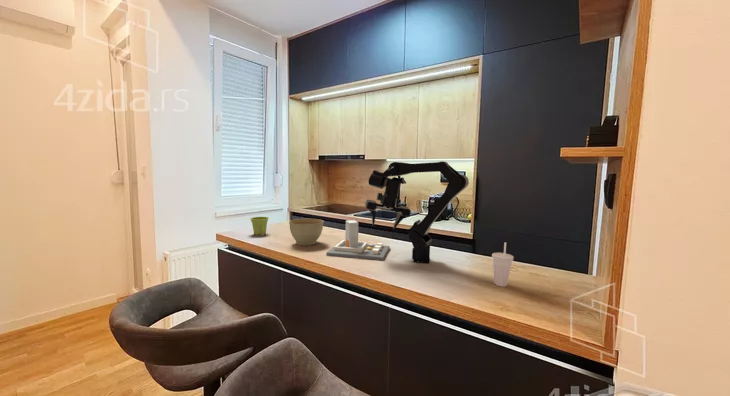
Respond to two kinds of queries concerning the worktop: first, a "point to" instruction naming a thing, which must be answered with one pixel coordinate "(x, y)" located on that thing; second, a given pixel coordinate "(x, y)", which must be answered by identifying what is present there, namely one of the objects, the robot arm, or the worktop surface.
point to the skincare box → (351, 234)
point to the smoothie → (502, 267)
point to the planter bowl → (306, 230)
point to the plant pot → (259, 225)
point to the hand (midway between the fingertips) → (383, 227)
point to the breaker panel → (360, 251)
